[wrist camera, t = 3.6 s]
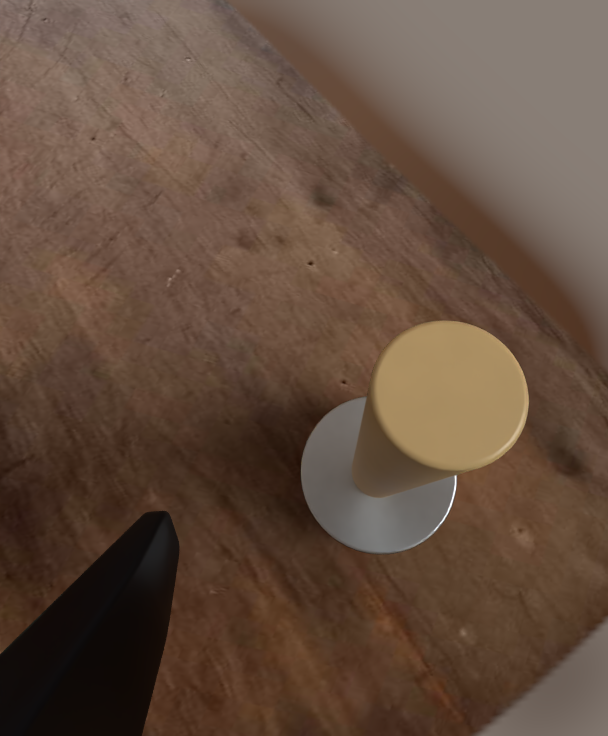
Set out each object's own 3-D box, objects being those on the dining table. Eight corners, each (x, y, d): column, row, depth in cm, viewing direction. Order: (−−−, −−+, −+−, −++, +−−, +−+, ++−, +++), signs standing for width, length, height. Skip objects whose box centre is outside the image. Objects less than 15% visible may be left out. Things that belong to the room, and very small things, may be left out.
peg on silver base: (456, 529, 16) (814, 588, 4) (324, 561, 16) (267, 718, 4) (415, 400, 18) (582, 149, 5) (294, 430, 18) (185, 247, 5)
